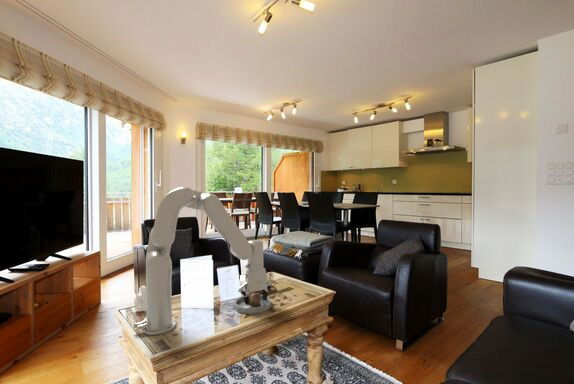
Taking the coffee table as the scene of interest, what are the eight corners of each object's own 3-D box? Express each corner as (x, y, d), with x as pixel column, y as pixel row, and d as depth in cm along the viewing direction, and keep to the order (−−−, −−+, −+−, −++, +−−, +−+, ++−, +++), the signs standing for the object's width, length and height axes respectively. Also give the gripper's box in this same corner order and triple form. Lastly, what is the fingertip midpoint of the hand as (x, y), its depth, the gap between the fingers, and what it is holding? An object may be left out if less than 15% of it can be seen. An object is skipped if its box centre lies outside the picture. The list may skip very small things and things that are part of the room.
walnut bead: (253, 309, 135) (253, 296, 135) (249, 306, 139) (249, 294, 139) (262, 307, 138) (262, 294, 138) (257, 304, 142) (257, 292, 142)
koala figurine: (152, 311, 136) (152, 285, 136) (136, 315, 132) (136, 288, 132) (148, 305, 143) (147, 281, 143) (133, 309, 139) (132, 284, 139)
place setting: (282, 294, 159) (282, 283, 159) (248, 301, 149) (248, 290, 149) (268, 285, 174) (268, 275, 174) (236, 291, 164) (236, 281, 164)
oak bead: (247, 305, 141) (247, 292, 141) (243, 302, 145) (242, 289, 145) (255, 302, 144) (255, 290, 144) (251, 300, 148) (251, 288, 148)
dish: (243, 317, 129) (243, 311, 129) (227, 304, 144) (227, 299, 144) (277, 307, 139) (277, 302, 139) (259, 296, 154) (259, 292, 154)
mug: (247, 294, 157) (247, 280, 157) (235, 290, 163) (235, 276, 163) (262, 289, 166) (262, 275, 166) (251, 285, 173) (251, 272, 173)
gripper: (242, 270, 131) (242, 308, 131) (275, 265, 140) (275, 300, 140) (235, 267, 137) (235, 303, 137) (267, 262, 147) (267, 295, 147)
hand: (255, 301), depth 139 cm, fingers open, 9 cm apart
